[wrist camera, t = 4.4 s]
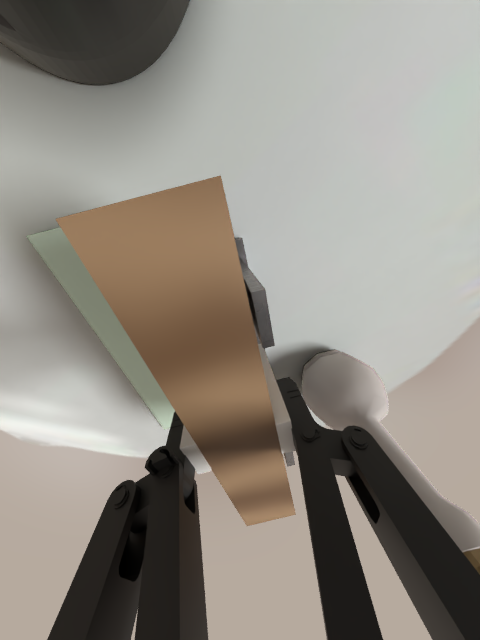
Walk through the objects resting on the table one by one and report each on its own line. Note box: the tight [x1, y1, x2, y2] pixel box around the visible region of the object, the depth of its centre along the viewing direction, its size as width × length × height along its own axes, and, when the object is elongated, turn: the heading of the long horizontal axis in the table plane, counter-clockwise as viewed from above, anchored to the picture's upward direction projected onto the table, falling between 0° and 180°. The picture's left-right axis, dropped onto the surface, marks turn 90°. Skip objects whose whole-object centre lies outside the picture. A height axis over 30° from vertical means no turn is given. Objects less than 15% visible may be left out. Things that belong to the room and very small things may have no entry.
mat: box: [26, 227, 175, 430], centre depth 20 cm, size 26×8×1 cm, turn 13°
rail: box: [56, 176, 295, 526], centre depth 11 cm, size 22×4×4 cm, turn 13°
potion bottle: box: [301, 349, 480, 574], centre depth 17 cm, size 9×9×18 cm
